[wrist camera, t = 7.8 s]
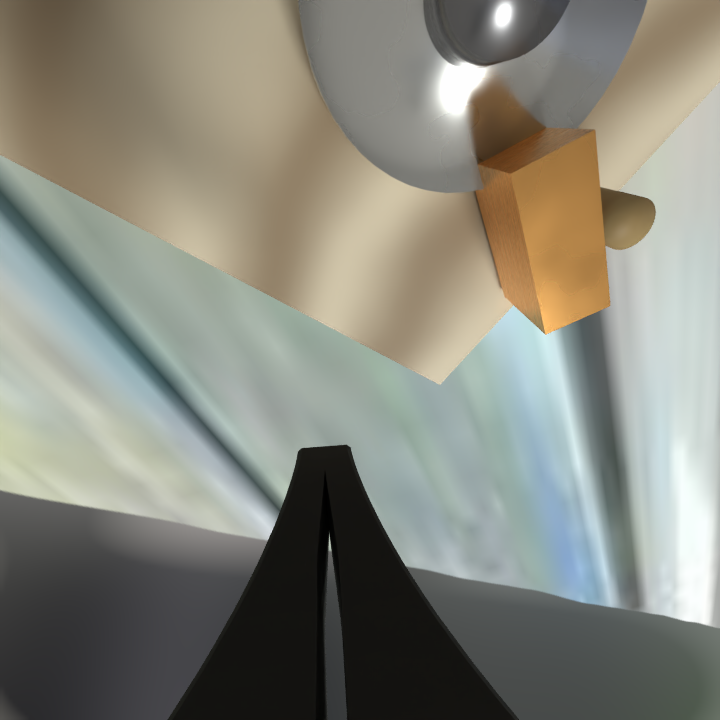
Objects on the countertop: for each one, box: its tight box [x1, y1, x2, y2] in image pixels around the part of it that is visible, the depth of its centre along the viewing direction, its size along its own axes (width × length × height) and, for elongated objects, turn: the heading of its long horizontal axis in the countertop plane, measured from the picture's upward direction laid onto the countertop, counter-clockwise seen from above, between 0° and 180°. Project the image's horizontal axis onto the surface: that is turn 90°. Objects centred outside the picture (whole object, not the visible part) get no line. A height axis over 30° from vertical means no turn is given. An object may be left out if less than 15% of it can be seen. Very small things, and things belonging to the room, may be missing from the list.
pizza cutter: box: [298, 0, 647, 335], centre depth 11 cm, size 15×10×4 cm, turn 26°
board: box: [0, 0, 720, 385], centre depth 11 cm, size 20×17×5 cm
